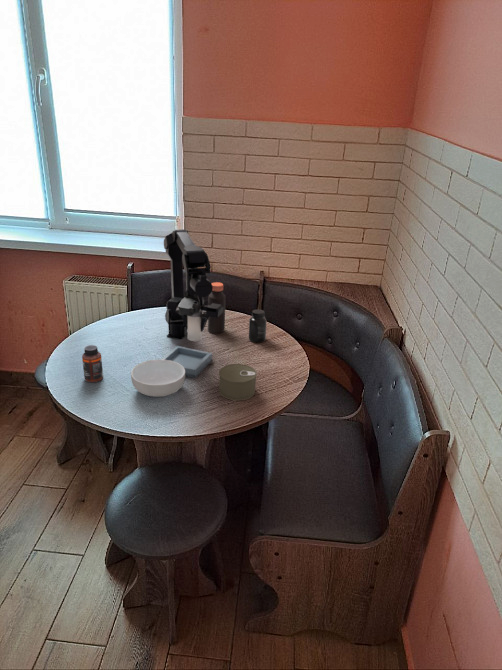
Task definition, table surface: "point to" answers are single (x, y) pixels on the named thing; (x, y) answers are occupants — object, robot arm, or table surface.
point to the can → (237, 381)
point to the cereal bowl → (158, 377)
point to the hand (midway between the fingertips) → (194, 330)
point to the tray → (189, 359)
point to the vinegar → (217, 297)
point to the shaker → (194, 326)
